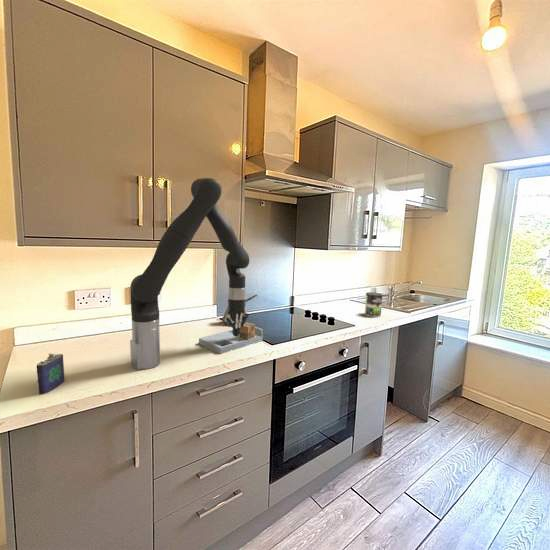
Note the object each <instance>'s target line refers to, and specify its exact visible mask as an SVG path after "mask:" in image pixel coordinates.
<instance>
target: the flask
mask: <svg viewBox="0 0 550 550" xmlns="http://www.w3.org/2000/svg"><path fill="white" fill-rule="evenodd" d="M47 354H48V357H47V358H46V359H44V361H43V360H41V361H40V362H38V363H37V364H36V373H37V384H38V394H39V395H46V394H47V393H50V392H51V391H53V390H55V389H56V388H58V387H60V386H61V385H62V384H63V383H64V382H65V379H66V377H65V370H64V368H65V367H64V365H65V364H64V355H63V354H62V353H59V354H58V353H57V354H56V353H47Z"/></svg>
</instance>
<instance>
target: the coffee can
mask: <svg viewBox="0 0 550 550" xmlns="http://www.w3.org/2000/svg"><path fill="white" fill-rule="evenodd" d="M383 296H384V294H383V293H380V292H371V291H370V292H368V291H367V292H365V307H364V315H365V316H367V317H371V318H379V317H382V306H383Z"/></svg>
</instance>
